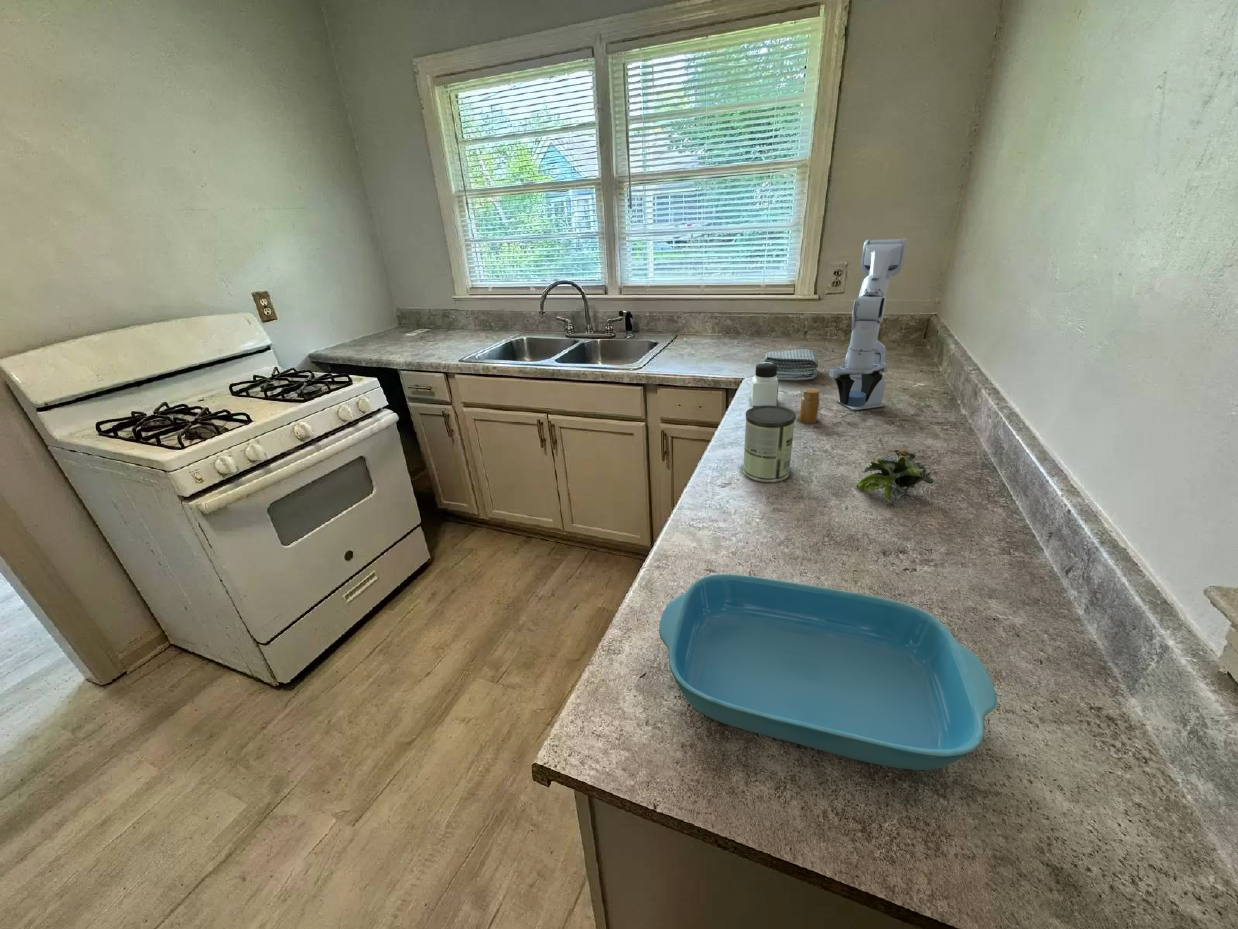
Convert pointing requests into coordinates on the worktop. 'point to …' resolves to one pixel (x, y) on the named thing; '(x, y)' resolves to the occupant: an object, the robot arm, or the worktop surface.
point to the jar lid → (856, 399)
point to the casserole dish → (828, 670)
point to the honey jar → (809, 405)
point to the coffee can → (768, 443)
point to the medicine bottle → (765, 385)
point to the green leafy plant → (895, 474)
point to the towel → (794, 364)
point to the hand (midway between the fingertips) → (853, 402)
